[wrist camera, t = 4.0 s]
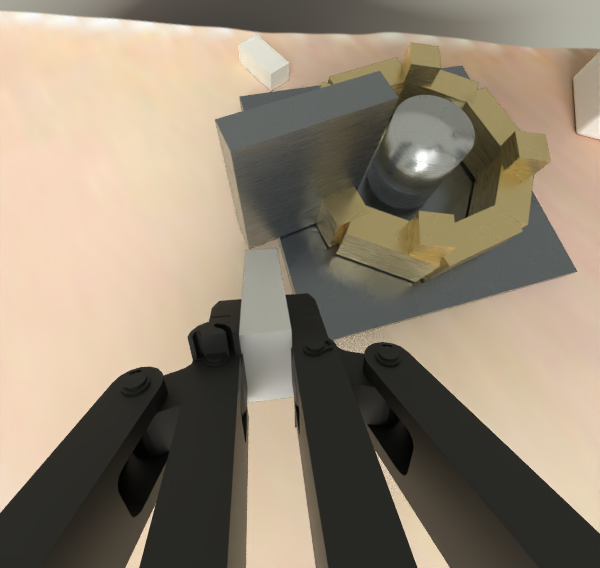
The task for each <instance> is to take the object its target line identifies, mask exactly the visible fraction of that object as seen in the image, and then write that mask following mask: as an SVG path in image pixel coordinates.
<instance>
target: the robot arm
mask: <svg viewBox="0 0 600 568" xmlns="http://www.w3.org/2000/svg"><path fill="white" fill-rule="evenodd" d="M188 341H189V345H190V350H191V354H192V358H193V362H192V364H191V365H189V366H188V367H186V368H184V369H181V370H179V371H176V372H173V373H170V374H167V375H164V376H163V373H162V372H161V371H160V370H159V369H158V368H153V367H140V368H137V369H133V370H130V371H128V372H126V373H125V374H123V375H121V376H120V377H118V378H117V379H116V380H115V381H114V382H113V383H112V384H111V385H110V386H109V387H108V389H107V390H106V391H105V392H104V393H103V394H102V396H101V397H100V398H99V399H98V400H97V401H96V403H95V404H94V405H93V406H92V407H91V408H90V410H89V411H88V412H87V413H86V414H85V415H84V416H83V418H82V419H81V420H80V421H79V422H78V423H77V425H76V426H75V427H74V428H73V429H72V430H71V432H70V433H69V434H68V435H67V436H66V437H65V439H64V440H63V441H62V442H61V443H60V444H59V446H58V447H57V448H56V449H55V450H54V451H53V452H52V454H51V455H50V456H49V457H48V458H47V459H46V461H45V462H44V463H43V464H42V465H41V466H40V468H39V469H38V470H37V471H36V472H35V473H34V475H33V476H32V477H31V478H30V479H29V480H28V481H27V483H26V484H25V485H24V486H23V487H22V488H21V490H20V491H19V492H18V493H17V494H16V495H15V497H14V498H13V499H12V500H11V501H10V502H9V504H8V505H7V506H6V507H5V508H4V509H3V511H2V512H1V513H0V568H125V567H126V565H127V563H128V561H129V559H130V556H131V554H132V552H133V550H134V548H135V546H136V544H137V542H138V540H139V538H140V535H141V533H142V531H143V529H144V527H145V525H146V523H147V521H148V519H149V516H150V514H151V512H152V510H153V508H154V506H155V509H154V513H153V517H152V521H151V525H150V529H149V532H148V536H147V540H146V544H145V548H144V552H143V556H142V560H141V563H140V567H139V568H246V532H247V478H248V423H249V416H248V409H247V398H248V402H257V401H266V400H274V399H283V398H292V397H294V403H295V427H297V431H298V439H299V446H300V454H301V461H302V468H303V476H304V483H305V491H306V498H307V505H308V513H309V520H310V528H311V535H312V542H313V550H314V557H315V565H316V568H417V565H416V562H415V560H414V557H413V554H412V551H411V549H410V546H409V543H408V540H407V538H406V535H405V532H404V529H403V527H402V524H401V521H400V519H399V516H398V513H397V510H396V508H395V505H394V502H393V499H392V497H391V494H390V491H389V488H388V486H387V483H386V480H385V477H384V475H383V472H382V469H381V466H380V464H379V461H378V458H377V455H376V453H375V451H376V452H377V454H378V455H379V457H380V458H381V460H382V462H383V463H384V465H385V466H386V468H387V469H388V471H389V473H390V474H391V476H392V477H393V479H394V480H395V482H396V483H397V485H398V487H399V488H400V490H401V491H402V493H403V494H404V496H405V498H406V499H407V501H408V502H409V504H410V505H411V507H412V509H413V510H414V512H415V513H416V515H417V516H418V518H419V520H420V521H421V523H422V524H423V526H424V527H425V529H426V531H427V532H428V534H429V535H430V537H431V538H432V540H433V542H434V543H435V545H436V546H437V548H438V549H439V551H440V553H441V554H442V556H443V557H444V559H445V560H446V562H447V564H448V565H449V567H450V568H600V533H598V532H597V531H596V530H595V529H594V528H593V527H592V526H591V525H590V524H589V523H588V522H587V521H586V520H585V519H584V518H583V517H582V516H581V515H579V514H578V513H577V512H576V511H575V510H574V509H573V508H572V507H571V506H570V505H569V504H568V503H567V502H566V501H565V500H564V499H563V498H562V497H560V496H559V495H558V494H557V493H556V492H555V491H554V490H553V489H552V488H551V487H550V486H549V485H548V484H547V483H546V482H545V481H544V480H542V479H541V478H540V477H539V476H538V475H537V474H536V473H535V472H534V471H533V470H532V469H531V468H530V467H529V466H528V465H527V464H526V463H525V462H523V461H522V460H521V459H520V458H519V457H518V456H517V455H516V454H515V453H514V452H513V451H512V450H511V449H510V448H509V447H508V446H507V445H506V444H504V443H503V442H502V441H501V440H500V439H499V438H498V437H497V436H496V435H495V434H494V433H493V432H492V431H491V430H490V429H489V428H488V427H487V426H485V425H484V424H483V423H482V422H481V421H480V420H479V419H478V418H477V417H476V416H475V415H474V414H473V413H472V412H471V411H470V410H469V409H467V408H466V407H465V406H464V405H463V404H462V403H461V402H460V401H459V400H458V399H457V398H456V397H455V396H454V395H453V394H452V393H451V392H450V391H448V390H447V389H446V388H445V387H444V386H443V385H442V384H441V383H440V382H439V381H438V380H437V379H436V378H435V377H434V376H433V375H432V374H431V373H429V372H428V371H427V370H426V369H425V368H424V367H423V366H422V365H421V364H420V363H419V362H418V361H417V360H416V359H415V358H414V357H413V356H411V355H410V354H409V353H408V352H407V351H406V350H404V349H403V348H402V347H400V346H398V345H395V344H392V343H385V342H381V343H374V344H372V345H370V346H368V347H367V349H366V350H365V353H364V354H362V353H355V352H349V351H345V350H342V349H340V348H338V347H337V346H336V344H335V343H334V341H333V340H331V339H330V338H328V335H327V332H326V329H325V326H324V323H323V320H322V318H321V315H320V312H319V309H318V306H317V303H316V300H315V299H314V298H313V297H312V296H311V295H309V294H308V293H304V294H291V295H285V291H284V285H283V279H282V274H281V268H280V262H279V257H278V251H277V248H273V249H257V250H245V262H244V275H243V288H242V299H239V300H226V301H219V302H218V303H217V304H216V305H215V306H214V307H213V308H212V311H211V315H210V319H209V322H207V323H204V324H202V325H199V326H197V327H196V328H195V329H193V330H192V331H191V332H190V334H189V335H188ZM374 449H375V450H374ZM155 504H156V505H155Z"/></svg>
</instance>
